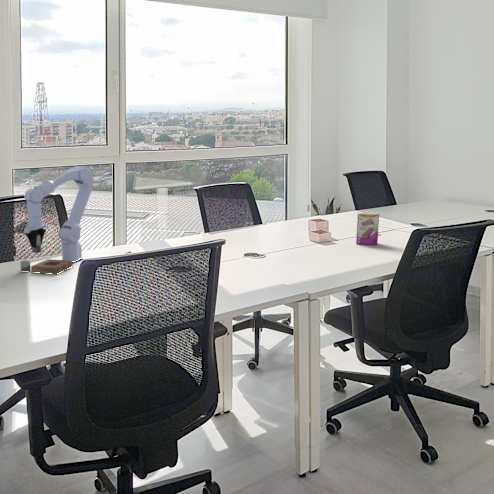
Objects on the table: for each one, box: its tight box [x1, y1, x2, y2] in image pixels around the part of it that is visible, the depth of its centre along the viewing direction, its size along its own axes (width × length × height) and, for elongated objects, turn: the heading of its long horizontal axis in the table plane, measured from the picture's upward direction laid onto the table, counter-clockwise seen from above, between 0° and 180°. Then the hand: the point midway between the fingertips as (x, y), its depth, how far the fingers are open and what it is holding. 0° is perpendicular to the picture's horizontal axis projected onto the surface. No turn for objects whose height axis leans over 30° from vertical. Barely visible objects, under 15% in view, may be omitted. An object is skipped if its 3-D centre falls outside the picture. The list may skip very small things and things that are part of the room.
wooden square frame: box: [30, 258, 74, 274], centre depth 299 cm, size 14×12×3 cm
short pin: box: [20, 259, 31, 272], centre depth 296 cm, size 4×4×4 cm
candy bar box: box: [355, 211, 380, 246], centre depth 359 cm, size 11×5×16 cm, turn 84°
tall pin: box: [31, 234, 42, 254], centre depth 303 cm, size 4×4×8 cm
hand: (36, 246), depth 303 cm, fingers closed on tall pin, 4 cm apart
